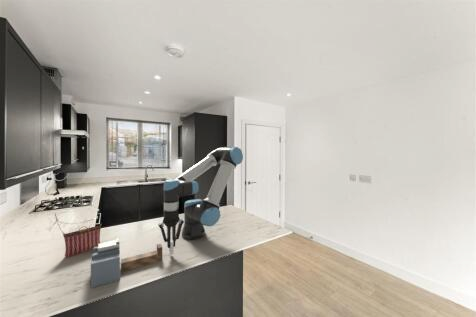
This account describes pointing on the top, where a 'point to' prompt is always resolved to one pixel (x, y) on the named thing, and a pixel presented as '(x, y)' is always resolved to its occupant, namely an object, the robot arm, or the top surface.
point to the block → (105, 267)
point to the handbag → (81, 240)
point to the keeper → (108, 246)
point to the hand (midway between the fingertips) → (171, 253)
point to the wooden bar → (142, 259)
